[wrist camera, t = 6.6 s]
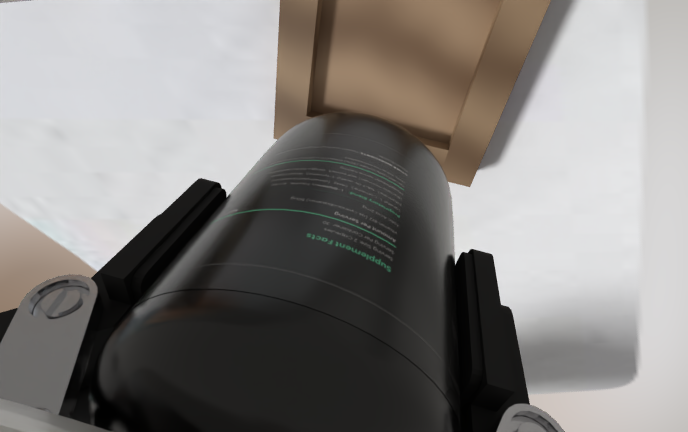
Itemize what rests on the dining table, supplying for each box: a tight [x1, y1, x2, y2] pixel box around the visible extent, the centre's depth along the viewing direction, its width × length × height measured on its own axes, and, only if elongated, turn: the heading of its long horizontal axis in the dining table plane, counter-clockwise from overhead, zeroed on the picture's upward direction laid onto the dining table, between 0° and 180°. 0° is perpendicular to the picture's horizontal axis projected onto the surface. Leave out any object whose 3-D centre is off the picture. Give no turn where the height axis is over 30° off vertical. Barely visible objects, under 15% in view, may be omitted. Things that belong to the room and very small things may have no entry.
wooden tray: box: [274, 0, 551, 187], centre depth 25 cm, size 16×16×2 cm
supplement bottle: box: [88, 112, 461, 432], centre depth 9 cm, size 7×7×12 cm
